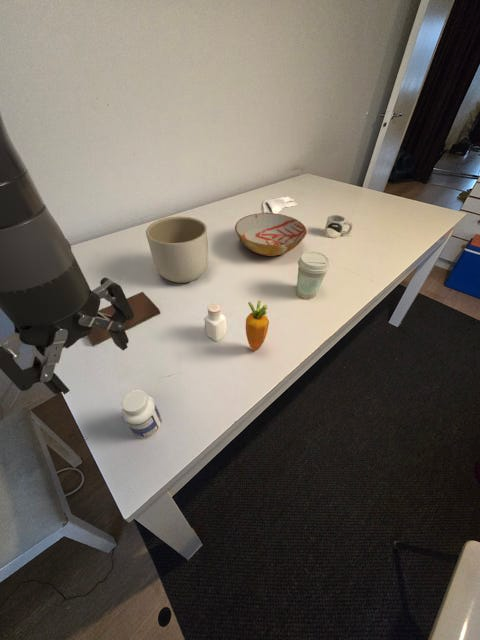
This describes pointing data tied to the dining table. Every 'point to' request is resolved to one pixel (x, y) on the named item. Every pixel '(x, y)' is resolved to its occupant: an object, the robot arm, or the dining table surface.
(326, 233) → the mug
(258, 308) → the carrot
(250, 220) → the bowl
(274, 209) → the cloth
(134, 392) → the pill bottle
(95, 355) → the dining table surface
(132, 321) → the board
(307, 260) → the coffee cup
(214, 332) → the pepper shaker
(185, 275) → the planter
